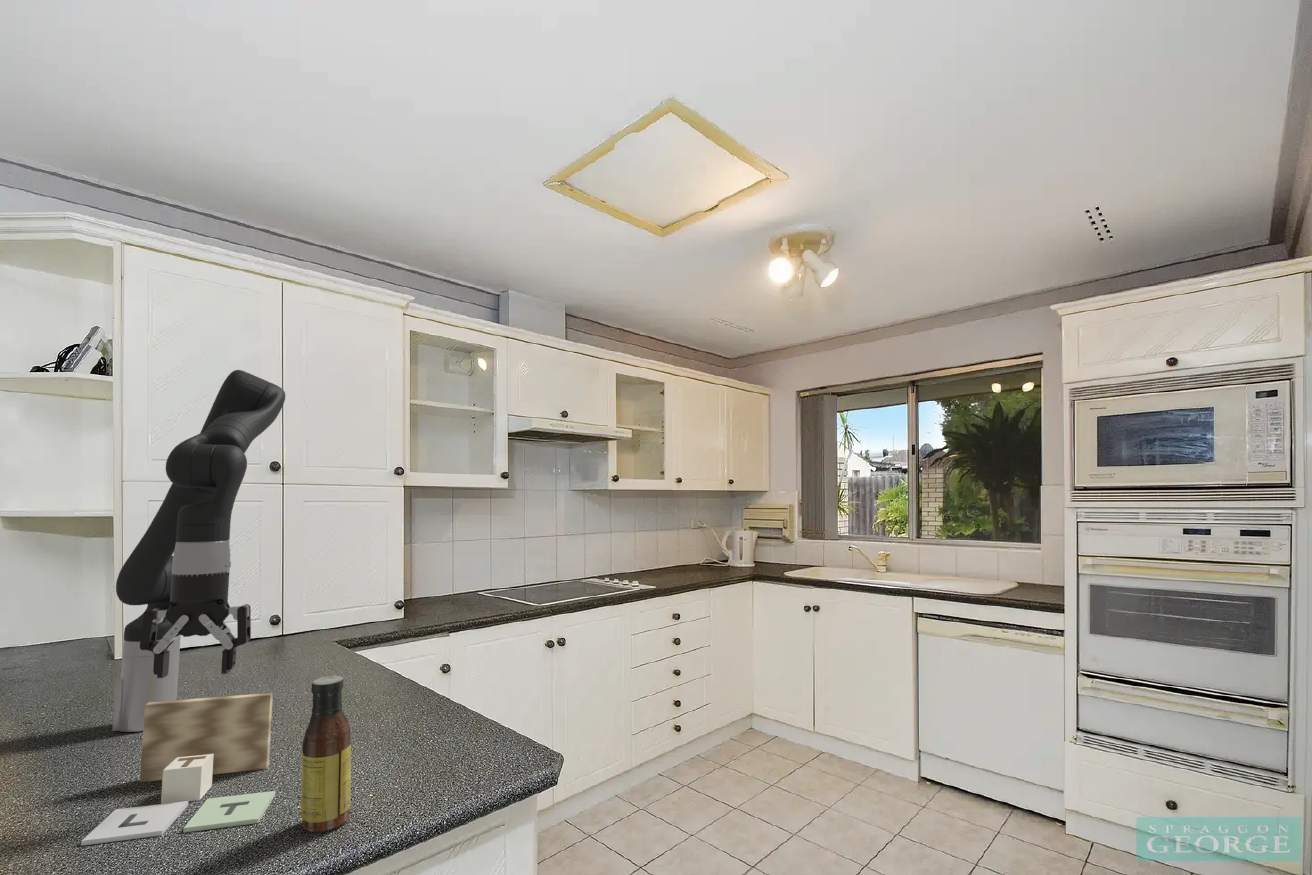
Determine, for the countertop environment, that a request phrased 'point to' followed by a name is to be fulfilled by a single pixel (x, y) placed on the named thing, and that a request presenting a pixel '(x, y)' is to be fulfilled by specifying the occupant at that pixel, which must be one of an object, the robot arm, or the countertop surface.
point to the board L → (135, 823)
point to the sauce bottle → (326, 760)
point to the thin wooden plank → (207, 733)
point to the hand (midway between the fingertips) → (194, 674)
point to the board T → (230, 811)
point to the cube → (187, 778)
